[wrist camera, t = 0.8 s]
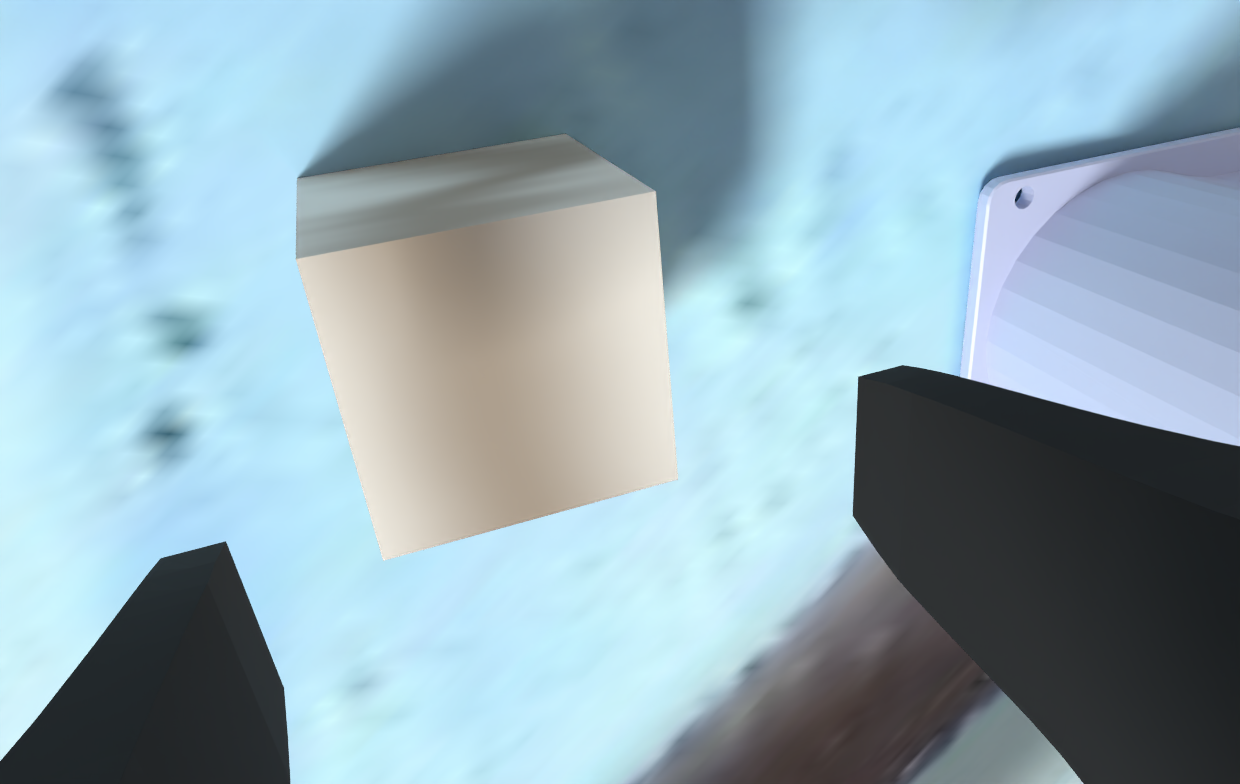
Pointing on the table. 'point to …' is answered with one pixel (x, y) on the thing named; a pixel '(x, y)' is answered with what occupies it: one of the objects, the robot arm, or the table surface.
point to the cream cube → (490, 334)
